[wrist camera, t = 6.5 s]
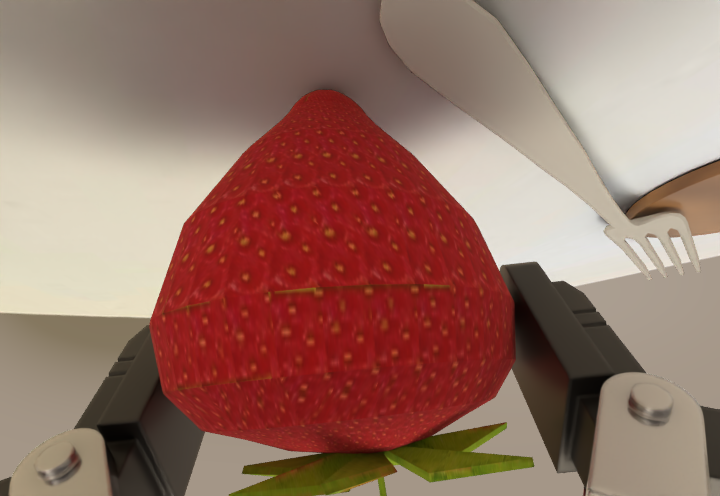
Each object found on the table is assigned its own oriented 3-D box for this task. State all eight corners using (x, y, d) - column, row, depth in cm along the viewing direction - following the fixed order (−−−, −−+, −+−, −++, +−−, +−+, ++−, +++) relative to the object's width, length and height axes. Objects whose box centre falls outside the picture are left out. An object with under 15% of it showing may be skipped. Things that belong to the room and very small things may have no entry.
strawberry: (270, -121, 6) (328, 881, 3) (524, 91, 12) (630, 554, 9) (106, 92, 10) (70, 651, 7) (354, 178, 15) (389, 521, 13)
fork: (475, -76, 7) (491, 21, 7) (702, 238, 25) (711, 271, 24) (326, 32, 9) (329, 113, 9) (634, 251, 27) (640, 282, 26)
